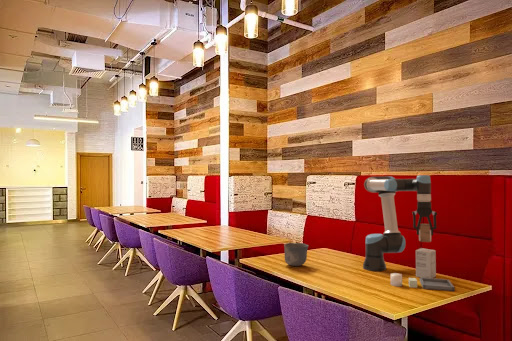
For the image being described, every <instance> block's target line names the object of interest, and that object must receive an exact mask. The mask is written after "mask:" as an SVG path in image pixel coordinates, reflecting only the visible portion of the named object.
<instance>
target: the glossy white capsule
mask: <svg viewBox="0 0 512 341" xmlns="http://www.w3.org/2000/svg"><path fill="white" fill-rule="evenodd" d="M390 285H391V286H392V287H403V274H402V273H397V272H393V273H390Z"/></svg>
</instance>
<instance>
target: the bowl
mask: <svg viewBox="0 0 512 341" xmlns="http://www.w3.org/2000/svg"><path fill="white" fill-rule="evenodd" d="M283 247H284V262H285V263H286V264H287V265H289V266H293V267H299V266H302V265H303V266H304V264H305V263H306V261H307V259H308V258H307V257H308V248H309V244H306V243H302V242H296V243H295V242H287V243H285V244H283Z"/></svg>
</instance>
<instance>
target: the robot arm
mask: <svg viewBox="0 0 512 341" xmlns="http://www.w3.org/2000/svg"><path fill="white" fill-rule="evenodd" d="M363 186H364V189H365V190H366V191H367V192H369V193H373V194H374V193H375V194H376V193H378V197H380V200H381V208H382V215H383V223H384V232H383V234H382V233H370V234H367V235H366V236H365V256H364V257H365V258H364V261H363V265H362V269H364V270H367V271H373V272H384V271H386V270H387V265H386V261H385V259H384V254H398V253H402V252H403V251H405V248H406V238H405V237H404V235H402V232H401V231H400V230H399V228H398V220H397V219H398V218H397V212H396V205H395V195H396V193H397V192H416V200H417V203H416V204H417V205H416V207H417V208H416V210H415V211H414V210H413V211H411V213H412V222H413V223H412V226H413V227H412V228H413V229H414V230H416V235H417V236H418V241H419V242H421V238H420V224H422V223H421V222H422V219H423V218H426V219H427V222H428V224H429V225H430V242H432V236H434V230H437V216H438V212H436V211H434V210H432V194H431V193H432V182H431V176H430V175H429V174H427V175H423V174H422V175H421V174H420V175H417V176H416V178H395V177H393V176H389V175H386V176H385V175H384V176H369V177H367V178H366V179H365V180H364V183H363ZM417 214H418V216H419V217H418V221H417V220H416V218H417V216H416V215H417ZM431 215H432V217H433V223H432V220H431V217H430V216H431ZM416 222H417V223H416ZM432 224H433V225H432Z"/></svg>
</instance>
